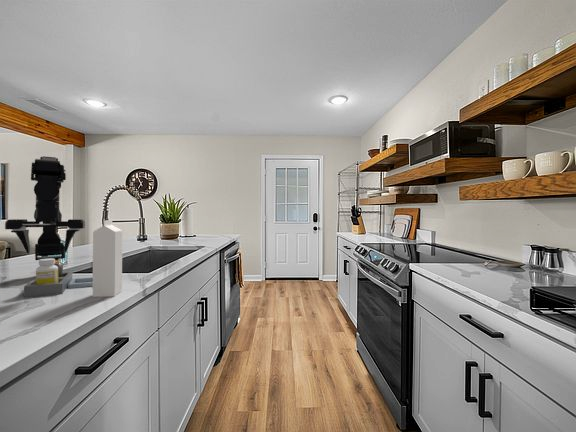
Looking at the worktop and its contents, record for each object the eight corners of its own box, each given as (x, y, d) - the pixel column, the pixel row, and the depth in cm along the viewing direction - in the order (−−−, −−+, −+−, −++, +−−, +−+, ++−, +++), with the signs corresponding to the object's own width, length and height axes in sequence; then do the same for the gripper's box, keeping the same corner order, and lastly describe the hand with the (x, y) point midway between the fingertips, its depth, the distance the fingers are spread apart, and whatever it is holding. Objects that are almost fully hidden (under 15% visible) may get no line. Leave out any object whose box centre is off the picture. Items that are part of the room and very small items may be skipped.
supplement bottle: (46, 288, 100) (46, 257, 100) (62, 289, 100) (62, 258, 99) (31, 293, 95) (31, 260, 95) (48, 293, 94) (48, 260, 94)
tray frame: (72, 282, 110) (72, 278, 110) (104, 279, 114) (104, 276, 114) (68, 288, 101) (68, 284, 101) (103, 285, 106) (103, 281, 106)
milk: (122, 291, 98) (123, 220, 98) (114, 296, 92) (115, 220, 92) (100, 292, 97) (101, 219, 97) (91, 297, 91) (93, 220, 91)
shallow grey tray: (40, 282, 108) (40, 259, 108) (72, 280, 112) (72, 258, 112) (24, 296, 90) (24, 269, 90) (62, 293, 95) (62, 267, 94)
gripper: (86, 202, 108) (86, 248, 108) (16, 201, 100) (16, 251, 100) (82, 201, 98) (82, 252, 98) (4, 200, 90) (4, 255, 90)
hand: (47, 252), depth 97 cm, fingers open, 9 cm apart
